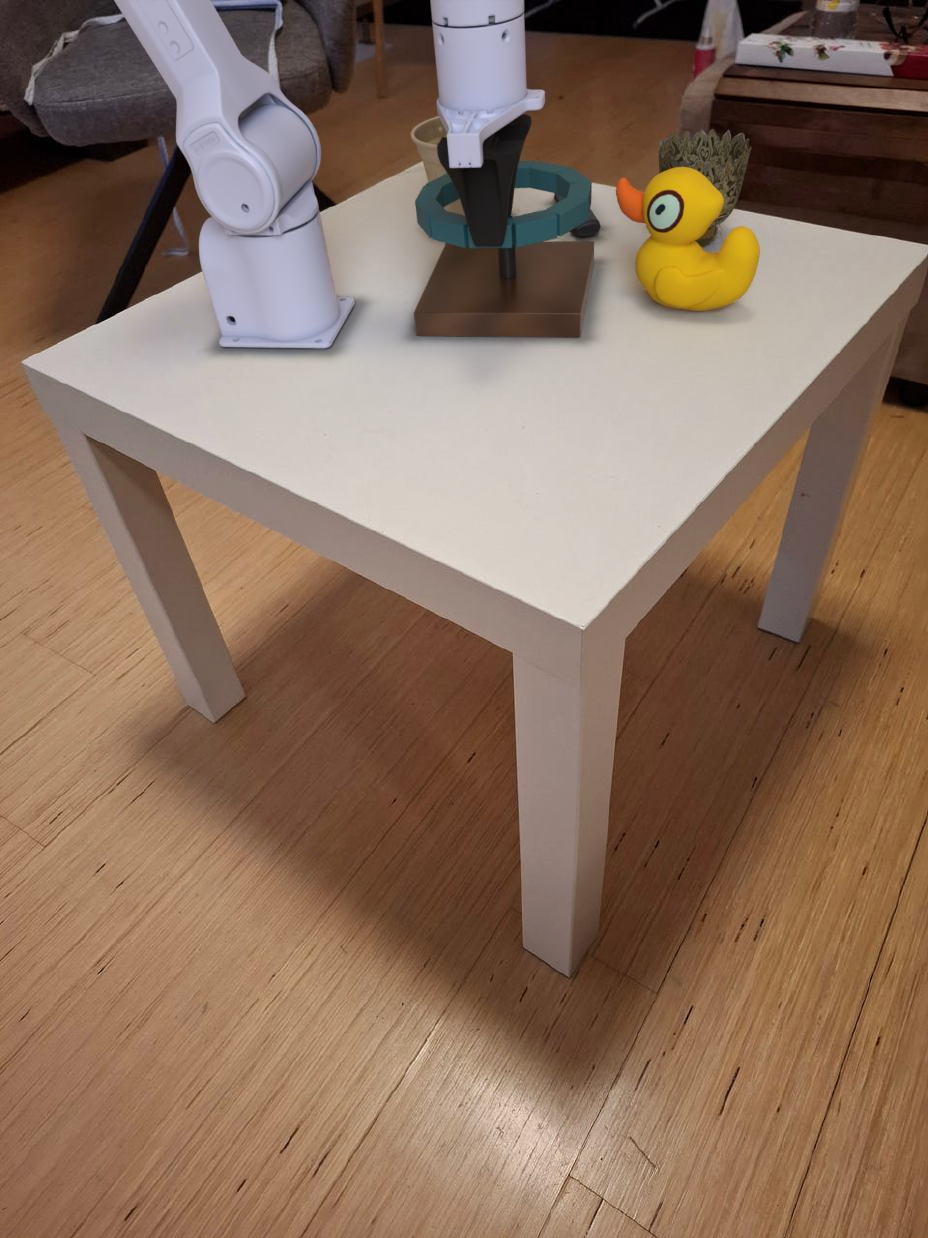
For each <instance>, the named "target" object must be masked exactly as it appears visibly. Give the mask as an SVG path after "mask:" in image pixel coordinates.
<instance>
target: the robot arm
mask: <svg viewBox="0 0 928 1238" xmlns="http://www.w3.org/2000/svg"><path fill="white" fill-rule="evenodd" d="M113 1H114V2H115V4H116V6H117V7H118V9H119V10H120V13H121V14H122V16H123V17H124V19H125V20H126V22H127V23H128V25H129V26H130V29H131V30H132V31H133V33H134V34H135V36H136V37H137V39H138V41H139V43H140V44H141V46H142V47H143V49H144V51H145V52H146V53H147V56H149V58H150V60H151V62H152V63H153V64H154V66H155V68H156V69H157V72H159V74H160V76H161V77H162V79H163V80H164V82H165V85H167V87H168V88H169V90H170V92H171V93H172V95H173V97H174V98H175V101H176V115H175V116H176V118H175V142H176V145H177V147H178V149H179V150H180V152H181V153H182V154H183V156H184V158H185V160H186V161H187V163H188V166H189V167H190V172H191V174H192V179H193V183H194V188H195V191H196V194H197V196H198V198H199V200H200V202H201V204H202V206H203V208H204V209H205V211H206V212H207V213H208V214H209V216H210V217H208V218H207V219H205V221H204V222H203V224H202V226H201V229H200V232H199V238H198V255H199V263H200V268H201V271H202V275H203V278H204V282H205V285H206V289H207V292H208V295H209V299H210V301H211V305H212V309H213V311H214V315H215V318H216V321H217V324H218V328H219V331H220V335H221V337H220V339H219V340H218V344H219V346H220V347H222V348H261V349H262V348H265V349H267V348H269V349H275V348H276V349H328V348H330V347H331V346H332V345H333V343H334V342H335V339H336V337H337V335H338V334H339V332H340V330H341V329H342V327H343V326H344V324H345V322H346V320H347V318H348V316H349V315H350V313H351V311H352V309H353V307H354V306H355V304H356V301H355V298H354V297H352V296H337V292H336V288H335V282H334V278H333V272H332V267H331V263H330V257H329V252H328V246H327V242H326V238H325V237H326V236H325V231H324V226H323V222H322V216H321V212H320V209H319V207H320V206H319V202H318V198H317V196H316V194H315V189H314V184H313V180H314V179H315V177H316V176H317V174H318V171H319V169H320V167H321V161H322V145H321V142H320V138H319V134H318V132H317V130H316V127H315V126H314V125H313V123H312V121H311V120H310V118H309V117H308V116H307V115H306V114H305V113H304V112H303V111H302V110H301V109H300V108H299V107H297V106H296V105H295V104H293V103H292V102H291V101H290V100H289V99H288V97H286V95H285V94H284V93H283V91H282V90H281V89H280V87H279V85H278V84H277V82H276V80H275V78H274V76H273V75H272V74H270V73H269V72H268V71H266V70H265V69H263V68H262V67H260V66H258V65H257V64H256V63H254V62H252V61H250V60H249V59H247V58H246V57H244V56H243V54H242V53H241V51H240V50H239V48H238V46H237V44H236V42H235V41H234V39H233V37H232V35H231V33H230V32H229V30H228V28H227V27H226V25H225V23H224V21H223V20H222V18H221V16H220V15H219V13H218V11H217V9H216V7H215V6H214V4H213V2H212V1H211V0H113ZM429 1H430V12H431V26H432V34H433V35H432V36H433V48H434V58H435V69H436V78H437V90H438V97H437V99H436V112H437V116H439V118H440V120H441V122H442V124H443V126H444V128H445V130H446V132H447V137H442V138H441V140H440V142H439V143H438V145H437V153H438V158H439V161H440V163H441V165H442V166H443V167H444V169H445V170H446V172H447V173H448V175H449V177H450V178H451V180H452V182H453V184H454V186H455V188H456V190H457V193H458V195H459V198H460V201H461V204H462V207H463V210H464V214H465V217H466V221H467V224H468V228H469V231H470V234H471V237H472V240H473V242H474V245H475V246H476V247H489V246H503V243H504V239H505V235H506V229H507V221H508V217H511V216H512V213H513V205H514V198H515V197H514V196H515V189H516V188H515V181H516V174H517V169H518V164H519V161H521V160H520V159H521V155H522V151H523V148H524V145H525V141H526V139H527V137H528V135H529V132H530V130H531V127H532V124H533V123H532V122H533V121H532V117H531V115H530V114H526V113H527V112H532V111H540V110H542V109H543V108H544V106H545V103H546V91H545V90H543V89H529V88H527V61H526V60H527V57H526V56H527V55H526V29H525V0H429Z"/></svg>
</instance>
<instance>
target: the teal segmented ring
mask: <svg viewBox="0 0 928 1238" xmlns="http://www.w3.org/2000/svg"><path fill="white" fill-rule="evenodd" d="M592 185H593V182H592V181H591V179H589V178H588V177H586V176H585V175H584V174H582V173H581V172H579V170H577V169H576V168H571V167H570V166H567V165H563V164H556V163H551V162H547V161H546V162H545V161H542V160H538V161H536V162H535V160H519V164H518V169H517V174H516V181H515V189H533V190H538V191H543V192H547V193H552V194H555V193H556V194H558V195H559V196H560V197H562V198H563V200H561V201H560V202H558V203H556V202H555V203H554V204H553V205H551V206H548V207H547V208H546V209H542V210H538V211H533V212H527V213H524V214H520V215H519V214H518V215H515V216H512V217H508V221H507V229H506V235H505V239H504V243H503V246H489V247H476V246H475V245H474V242H473V240H472V237H471V234H470V231H469V228H468V224H467V221H466V217H465V215H461V214H457V213H453V212H449V211H446V210H445V209H444V207H445V206H447V205H449V204H451V203H453V202H454V201H456V200H458V199H460V198H459V195H458V193H457V190H456V188H455V186H454V184H453V182H452V180H451V178H450V177H449V175H448V173H447V174H445V175H443V176H441V177H439V178H437V179H434V180H432V181H430V182H428V181H427V183H425V185H423V186H422V188H421V189H420V191H419V192H418V195H417V197H416V198H415V200H414V205H415V213H416V223H417V225H418V226H419V227H420V228H421V230H423V231H424V232H425V234H426V235H427V236H428V238H431V239H432V240H433V241H437V242H441V243H443V244H446V243H448V244H452V245H455V246H459V247H463V248H466V247H467V246H469V248H512V246H513V244H514V245H515V246H516V247H521V246H525V245H530V244H534V243H538V242H548V241H550V240H555V239H557V238H558V237H563V236H564V235H566V234H568V233H570V232H571V231H573V229H574V228H576V227H578V226H579V225H581V224H582V223H584V222H586V220H588V216H589V212H590V209H591V207H592V190H593V189H592Z"/></svg>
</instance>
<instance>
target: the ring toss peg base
mask: <svg viewBox="0 0 928 1238" xmlns="http://www.w3.org/2000/svg"><path fill="white" fill-rule="evenodd" d="M511 217H513V215H511ZM444 244H445V245H444V246H443V248H442V250H441V253H440V255H439V256H438V259H437V262H436V263H435V265H434V268H433V270H432V272H431V275H430V276H429V279H428V281H427V283H426V286H424V287H425V288H424V289H423V292H422V294H421V296H420V298H419V301H418V303H417V305H416V307H415V309H414V311H413V319H414V326H415V333H416V336H418V337H485V338H486V337H490V338H491V337H494V338H495V337H496V338H497V337H499V338H511V337H512V338H515V337H516V338H581V335H582V330H583V323H584V319H585V315H586V308H587V303H588V297H589V292H590V286H591V281H592V276H593V271H594V265H595V241H594V240H571V241H570V240H567V241H565V240H562V241H561V240H559V241H557V240H556V241H550V240H547V241H543V242H538V243H534V244H530V245H525V246H521V247H516V246H515V245H514V244H513V246H512V248H469V246H467V247H466V248H463V247H459V246H455V245H452V244H448V243H444Z"/></svg>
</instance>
